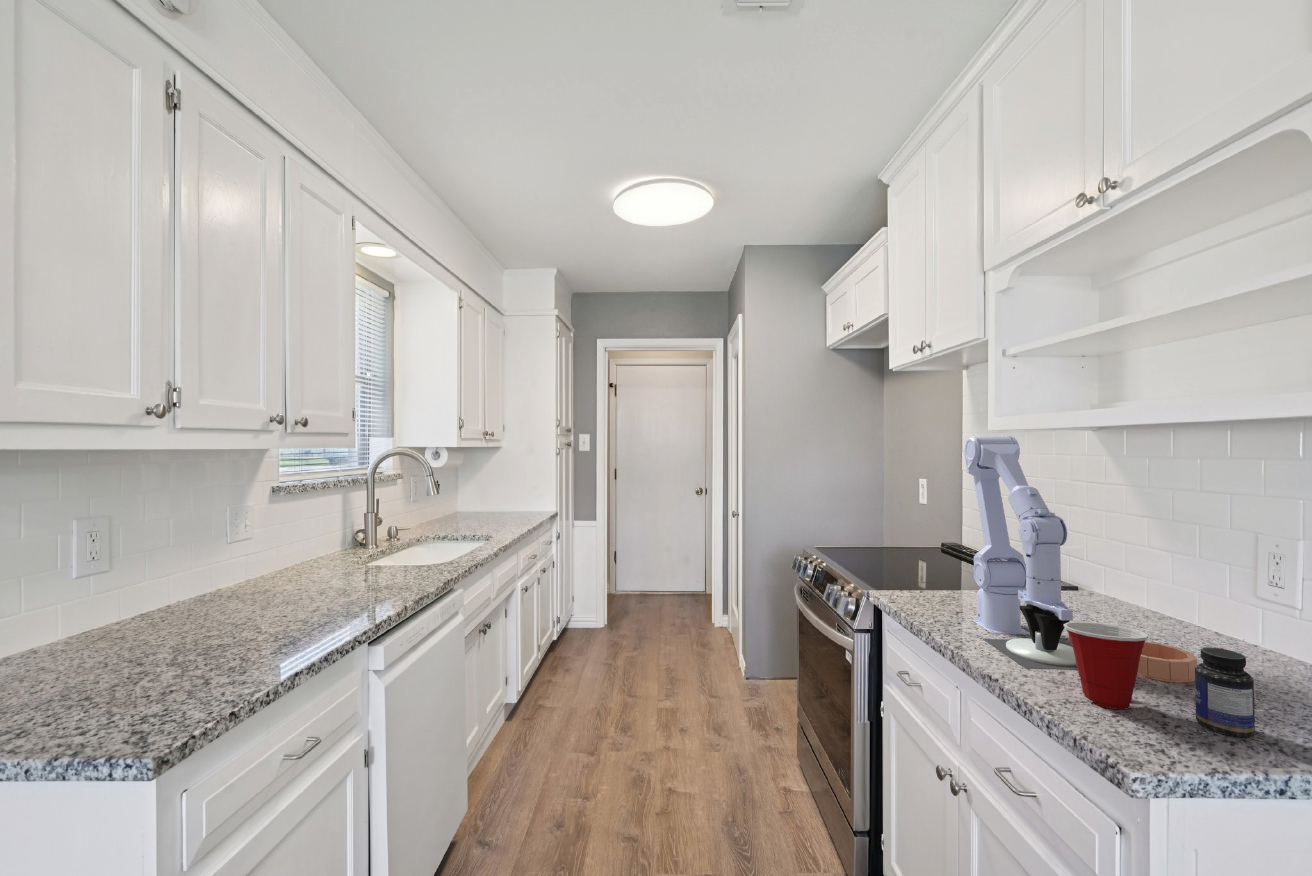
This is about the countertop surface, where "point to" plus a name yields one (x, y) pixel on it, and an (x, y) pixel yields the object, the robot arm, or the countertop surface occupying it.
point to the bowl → (1166, 663)
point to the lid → (1041, 651)
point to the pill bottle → (1224, 693)
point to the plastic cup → (1106, 661)
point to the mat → (1001, 646)
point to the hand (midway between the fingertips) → (1044, 646)
